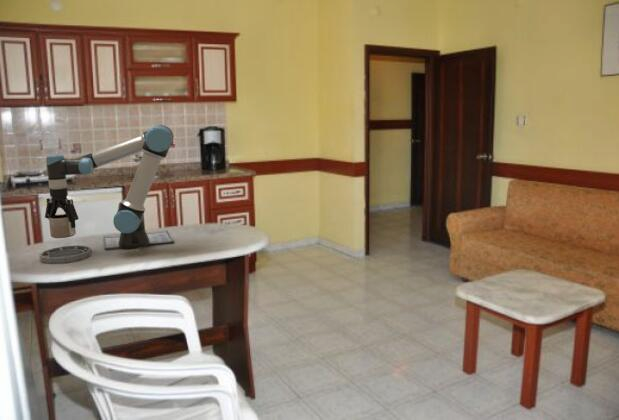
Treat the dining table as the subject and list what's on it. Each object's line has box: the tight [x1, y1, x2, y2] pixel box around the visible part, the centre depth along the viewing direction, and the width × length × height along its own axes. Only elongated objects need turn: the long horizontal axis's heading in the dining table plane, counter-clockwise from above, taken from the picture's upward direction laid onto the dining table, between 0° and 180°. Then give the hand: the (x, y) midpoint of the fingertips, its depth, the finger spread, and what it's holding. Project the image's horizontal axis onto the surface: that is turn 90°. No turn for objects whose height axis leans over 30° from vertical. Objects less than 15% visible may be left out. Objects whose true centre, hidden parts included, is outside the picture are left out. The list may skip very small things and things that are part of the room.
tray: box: [38, 244, 93, 265], centre depth 248 cm, size 22×22×3 cm
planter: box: [48, 213, 77, 239], centre depth 246 cm, size 11×11×10 cm
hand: (63, 233), depth 246 cm, fingers closed on planter, 11 cm apart
